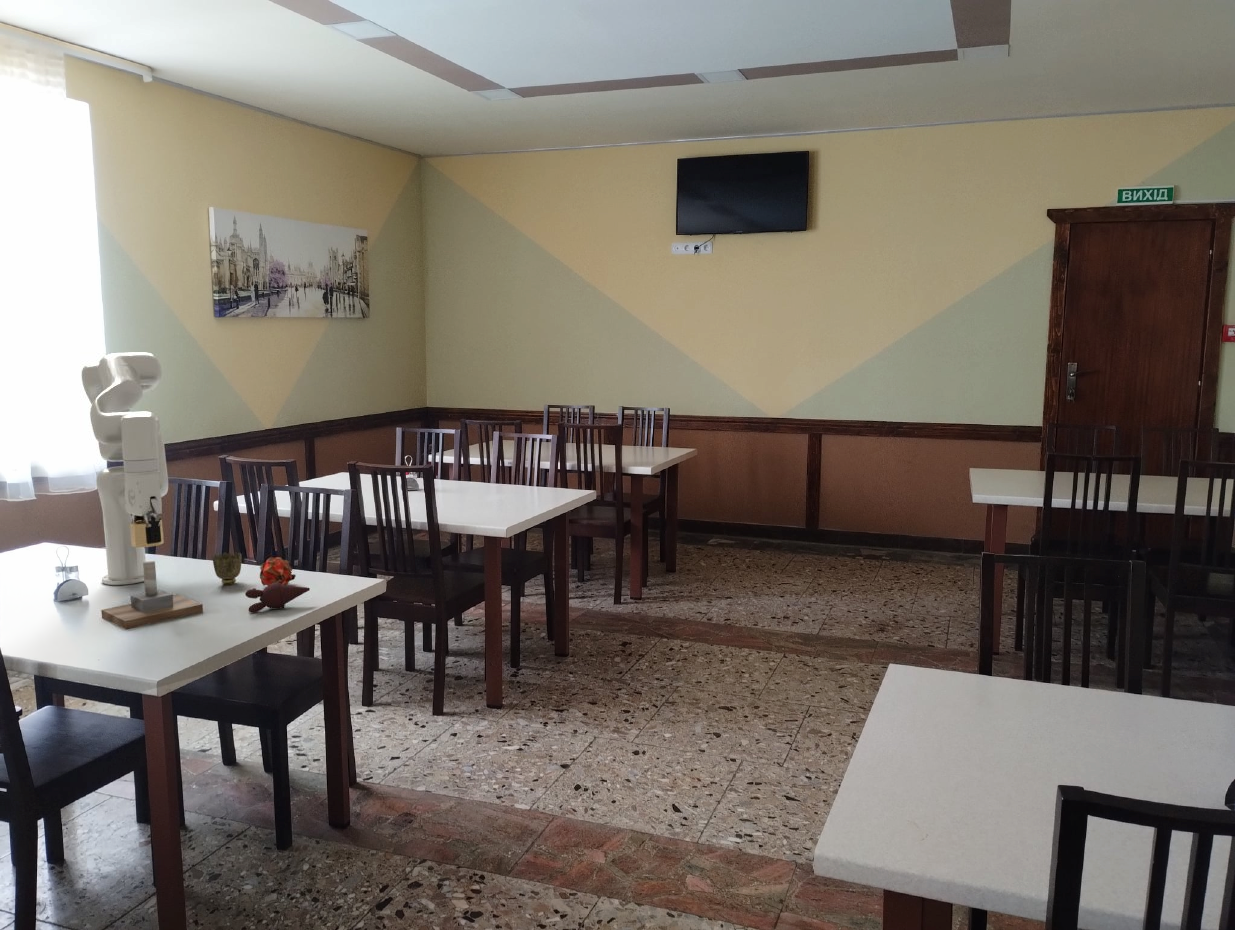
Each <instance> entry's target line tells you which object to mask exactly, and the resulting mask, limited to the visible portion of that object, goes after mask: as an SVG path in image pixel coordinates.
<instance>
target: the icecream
mask: <svg viewBox="0 0 1235 930" xmlns="http://www.w3.org/2000/svg"><path fill="white" fill-rule="evenodd" d="M309 591H310V587H306V586H305V587H304V586H295V585H288V584H287V585H280V583H279V582H278V581H277V582H276V583H272V584H270V585H269V586H267V585H266V586H265V587H264V588H263V590H261V589H256V588H255V587H254V588H252V589H250V588H249V589H248V590H246V591H245V593H244V595H245V597H247V598H249V599H256V600H257V599H258V598H259V602H255V603H253V604H251V605H249V607H248V611H249V613H252V614H253V613H258V612H260V611H263V609H265V608H266V607H267V608H268V609H271V610H273V609H274V610H280V609H285V608H286V607H285V605H286V604H288V603H289V602H291V601H293V600H294V599H296V598H298V597H300V596H301V595H303V594H306V593H307V592H309Z"/></svg>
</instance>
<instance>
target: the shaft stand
mask: <svg viewBox="0 0 1235 930" xmlns="http://www.w3.org/2000/svg"><path fill="white" fill-rule="evenodd" d="M143 571H144V581H143V583H144V592H141V593H140V592H139V593H135V594H131V595H129V596H130V603H127V604H121V605H118V606H113V607H108V608H104V609H101V610H100V611H101V612H100V613H101V619H103V620H105V621H107V622H110V623H111V624H113V625H116V626H118V627H120V628H122V629H124V630H129V629H134V628H138V627H143V626H147V625H151V624H156V623H162V622H165V621H169V620H173V619H178V618H182V617H183V618H184V617H187V616H192V615H195V614H196V615H197V614H200V613H204V605H203V603H202V602H198V601H195V600H193V599H190V598H187V597H186V596H183V595H180V594H177V593H176V594H173V593H170V592H167V591H165V590H163V589H158V585H157V570H156V560H155V561H154V560H148V561H146V562H143Z"/></svg>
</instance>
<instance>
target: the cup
mask: <svg viewBox="0 0 1235 930" xmlns="http://www.w3.org/2000/svg"><path fill="white" fill-rule="evenodd" d="M242 557H243V554H242V553H241V552H238V553H237V552H235V553H234V554H233V555H232V554H231V552H228V553H227V552H223V553H222V554H221V553H218V555H216V554H215V555H212V556H211V559H212V565H213V569H214V573H215V575H216V577H217V578H218V579H221V584H222V585H224V586H231V585H234V584H236V582H237V579H236V578H237V577H239V575H240V573H241V570H242ZM230 584H231V585H230Z"/></svg>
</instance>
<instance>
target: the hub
mask: <svg viewBox="0 0 1235 930" xmlns="http://www.w3.org/2000/svg"><path fill="white" fill-rule="evenodd" d="M150 520H151V518H150ZM160 523H161V525H160V530H161V542H159V543H153V544H147V542H146V530H145V527H147V524H146V520H138V521H134V522H131V523H130V534H131V546H133V547H145V548H150V547H151V548H152V547H156V546H160V545H162V544H164V542H165V541H164V538H165V537H164V528H163V525H164V524H163V520H162V519H161V520H160Z"/></svg>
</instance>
